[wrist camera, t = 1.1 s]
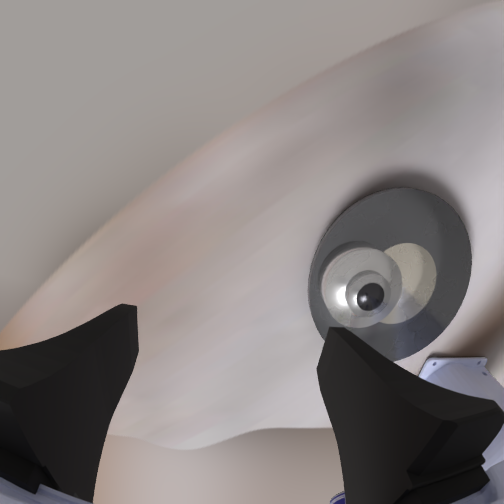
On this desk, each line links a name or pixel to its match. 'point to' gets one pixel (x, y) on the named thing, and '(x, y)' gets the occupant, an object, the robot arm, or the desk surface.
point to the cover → (359, 284)
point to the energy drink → (338, 498)
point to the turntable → (403, 266)
